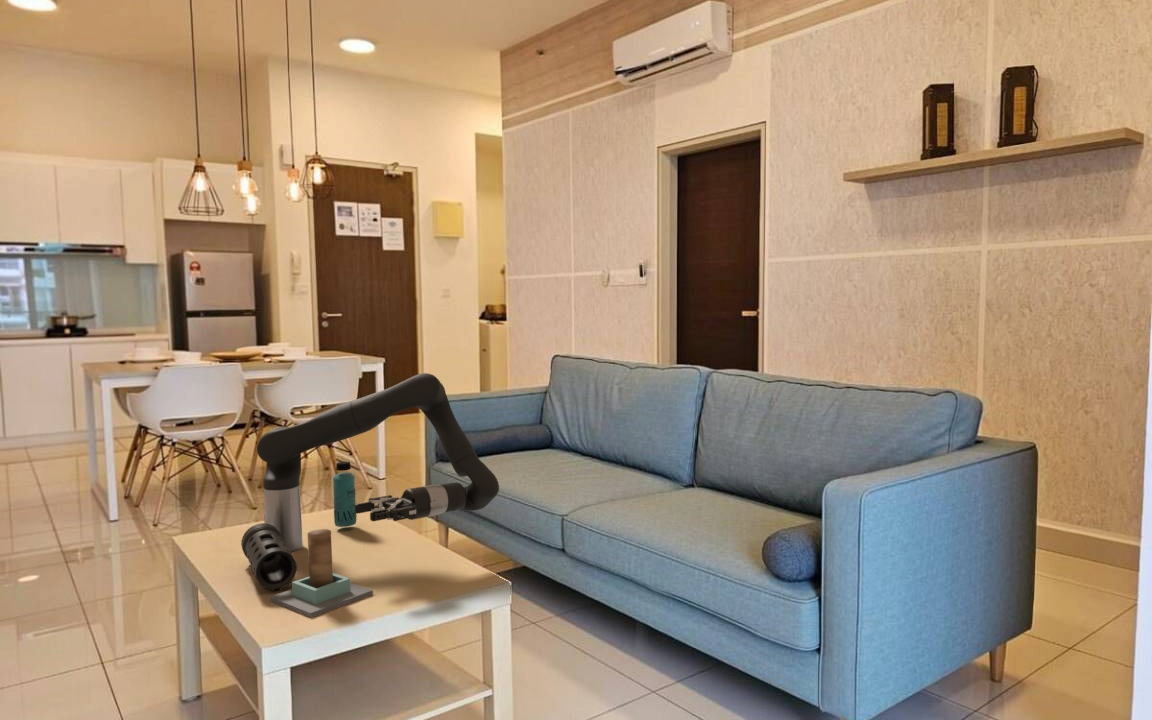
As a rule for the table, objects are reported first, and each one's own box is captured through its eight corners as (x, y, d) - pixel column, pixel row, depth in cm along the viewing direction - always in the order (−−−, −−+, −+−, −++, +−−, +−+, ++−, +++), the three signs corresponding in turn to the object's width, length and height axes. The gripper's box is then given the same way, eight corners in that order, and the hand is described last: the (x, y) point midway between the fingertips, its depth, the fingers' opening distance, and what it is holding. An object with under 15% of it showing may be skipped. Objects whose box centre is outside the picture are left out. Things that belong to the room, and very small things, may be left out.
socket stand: (269, 601, 174) (269, 583, 174) (331, 580, 187) (330, 563, 186) (310, 617, 164) (309, 599, 164) (372, 594, 177) (372, 577, 176)
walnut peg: (305, 594, 175) (303, 533, 174) (325, 587, 179) (322, 527, 178) (318, 598, 172) (315, 536, 171) (337, 592, 176) (335, 531, 175)
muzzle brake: (255, 598, 177) (253, 553, 176) (241, 563, 201) (239, 524, 200) (299, 589, 181) (297, 546, 180) (280, 556, 206) (278, 518, 205)
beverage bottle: (330, 531, 227) (327, 464, 225) (340, 525, 233) (337, 459, 232) (351, 532, 226) (348, 464, 224) (361, 525, 232) (358, 459, 231)
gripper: (411, 481, 196) (350, 491, 186) (439, 492, 186) (375, 503, 175) (411, 510, 197) (350, 521, 187) (439, 522, 186) (376, 535, 176)
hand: (363, 512), depth 181 cm, fingers open, 8 cm apart
